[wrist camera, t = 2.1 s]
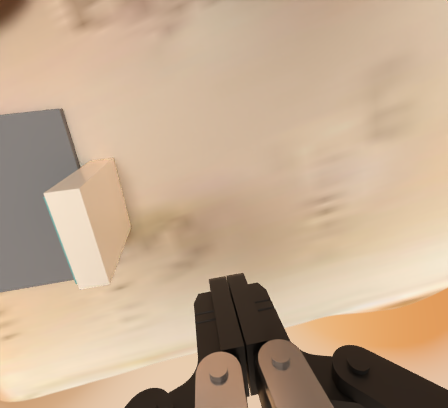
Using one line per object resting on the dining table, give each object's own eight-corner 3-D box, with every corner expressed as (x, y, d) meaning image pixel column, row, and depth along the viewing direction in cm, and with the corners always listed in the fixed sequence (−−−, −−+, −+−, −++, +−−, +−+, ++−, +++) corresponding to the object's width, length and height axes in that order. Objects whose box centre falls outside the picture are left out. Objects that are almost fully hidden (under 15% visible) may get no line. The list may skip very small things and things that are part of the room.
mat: (-87, 124, 21) (-94, 124, 20) (62, 108, 22) (59, 108, 21) (-2, 289, 27) (-5, 293, 26) (111, 270, 28) (110, 273, 27)
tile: (87, 161, 24) (38, 193, 16) (113, 157, 24) (79, 188, 16) (108, 230, 26) (75, 290, 18) (131, 227, 27) (109, 284, 18)
